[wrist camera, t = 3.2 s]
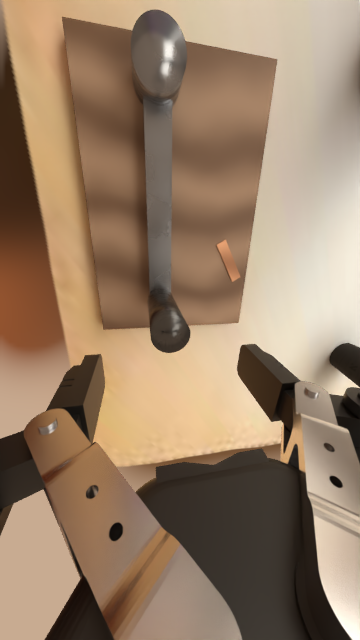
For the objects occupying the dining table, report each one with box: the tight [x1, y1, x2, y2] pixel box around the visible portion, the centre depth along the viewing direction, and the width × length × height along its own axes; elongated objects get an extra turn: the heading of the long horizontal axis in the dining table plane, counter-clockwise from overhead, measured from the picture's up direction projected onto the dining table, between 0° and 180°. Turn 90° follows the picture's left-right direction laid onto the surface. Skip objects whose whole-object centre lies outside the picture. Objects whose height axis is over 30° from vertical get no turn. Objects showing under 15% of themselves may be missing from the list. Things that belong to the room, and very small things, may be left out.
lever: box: [131, 10, 190, 353], centre depth 16 cm, size 22×4×10 cm, turn 179°
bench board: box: [62, 17, 277, 330], centre depth 22 cm, size 26×18×2 cm
